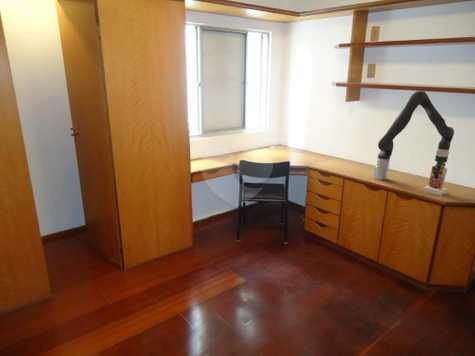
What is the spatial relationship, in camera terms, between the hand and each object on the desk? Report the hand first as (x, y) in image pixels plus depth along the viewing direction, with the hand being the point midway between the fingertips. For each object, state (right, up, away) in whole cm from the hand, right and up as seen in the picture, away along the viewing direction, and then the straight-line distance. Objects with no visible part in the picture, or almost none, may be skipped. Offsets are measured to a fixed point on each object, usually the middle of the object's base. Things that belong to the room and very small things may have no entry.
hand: (437, 177), depth 248 cm
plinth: (0, -10, +3) cm, 11 cm away
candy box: (0, -7, +2) cm, 7 cm away
